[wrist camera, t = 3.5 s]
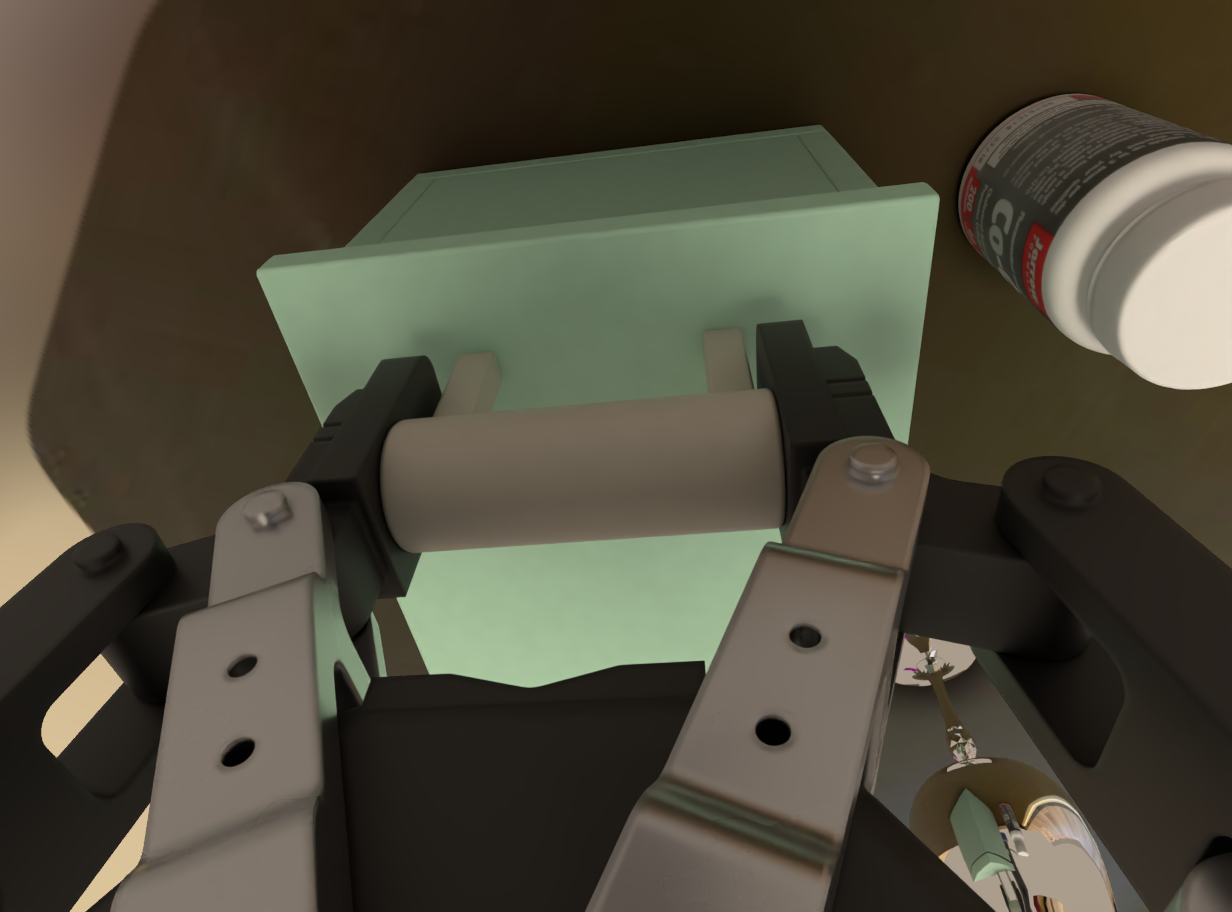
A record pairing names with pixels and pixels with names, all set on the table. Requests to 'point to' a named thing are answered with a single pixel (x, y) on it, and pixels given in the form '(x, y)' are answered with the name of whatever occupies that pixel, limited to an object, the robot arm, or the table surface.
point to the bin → (617, 184)
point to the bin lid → (602, 409)
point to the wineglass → (1000, 812)
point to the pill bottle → (1112, 232)
